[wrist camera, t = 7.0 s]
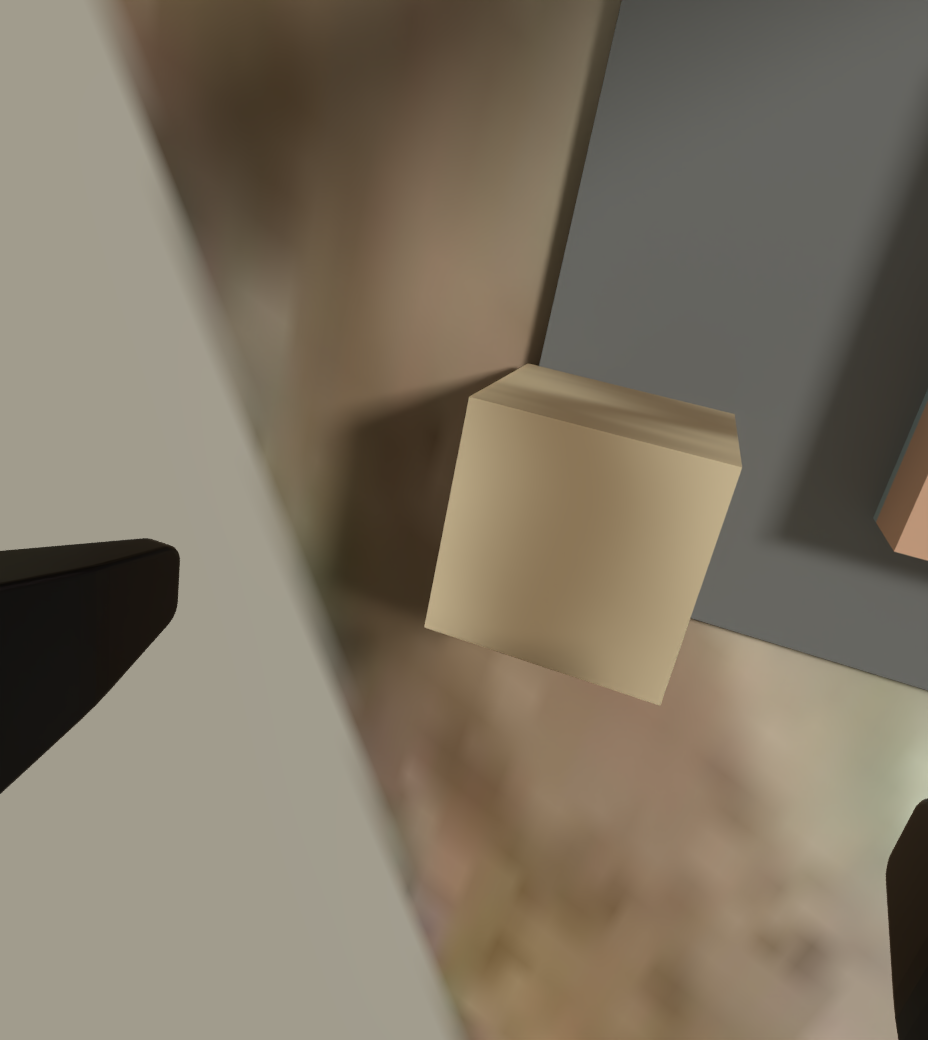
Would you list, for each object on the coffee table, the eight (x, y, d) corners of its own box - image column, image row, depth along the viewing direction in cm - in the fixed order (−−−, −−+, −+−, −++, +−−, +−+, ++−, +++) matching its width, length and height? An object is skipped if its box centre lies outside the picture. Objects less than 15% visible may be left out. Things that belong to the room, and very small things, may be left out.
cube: (734, 414, 16) (741, 467, 12) (672, 602, 18) (659, 705, 13) (528, 363, 17) (469, 396, 13) (487, 546, 18) (424, 627, 14)
